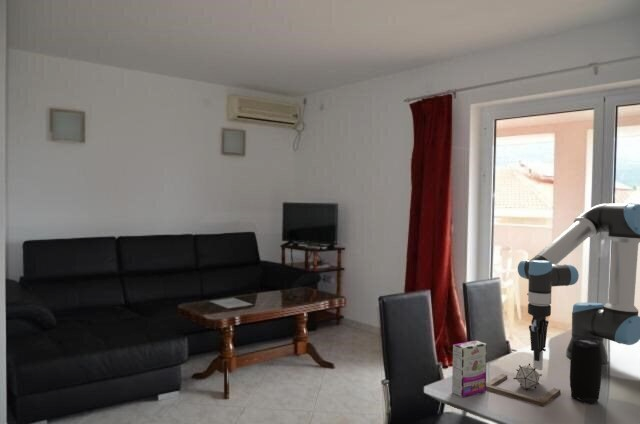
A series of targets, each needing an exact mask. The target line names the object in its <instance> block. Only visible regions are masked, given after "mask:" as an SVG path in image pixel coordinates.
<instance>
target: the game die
mask: <svg viewBox="0 0 640 424" xmlns="http://www.w3.org/2000/svg"><path fill="white" fill-rule="evenodd" d="M518 366H519V368H518V369H516V371H517V372H516V376H515V377H513V378H512V379H513V380H517V382H518V383H519V386H522V387H524V391H525V392H526V391H527V389H530V388H534V389H537V387H536V386H537V385H539V386H540V382H539V380H540V377H542V376H543V374H542V373H540V374H539V373H538V371H536V370H537V369H536V368H534V369H533V366H531V363H530V362H529V363H528V365H525V366H521V365H520V364H519V365H518Z"/></svg>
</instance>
